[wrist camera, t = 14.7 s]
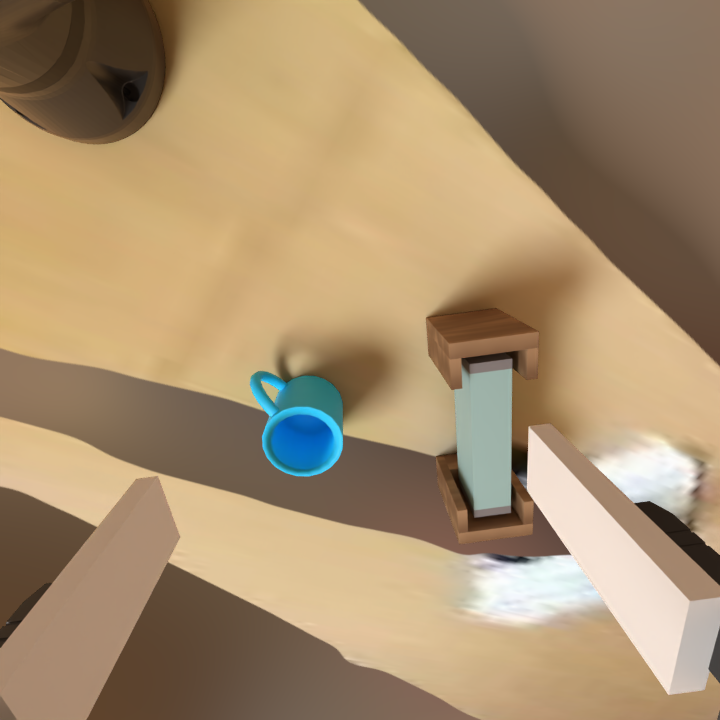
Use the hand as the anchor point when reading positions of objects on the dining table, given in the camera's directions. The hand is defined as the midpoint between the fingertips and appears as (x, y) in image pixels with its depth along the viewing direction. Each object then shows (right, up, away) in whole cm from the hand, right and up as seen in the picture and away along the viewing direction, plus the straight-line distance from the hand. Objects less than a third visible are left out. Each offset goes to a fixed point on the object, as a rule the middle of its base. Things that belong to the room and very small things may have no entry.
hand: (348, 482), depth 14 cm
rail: (+13, -2, +31) cm, 34 cm away
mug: (-7, 0, +33) cm, 33 cm away
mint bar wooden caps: (+13, -1, +34) cm, 36 cm away
